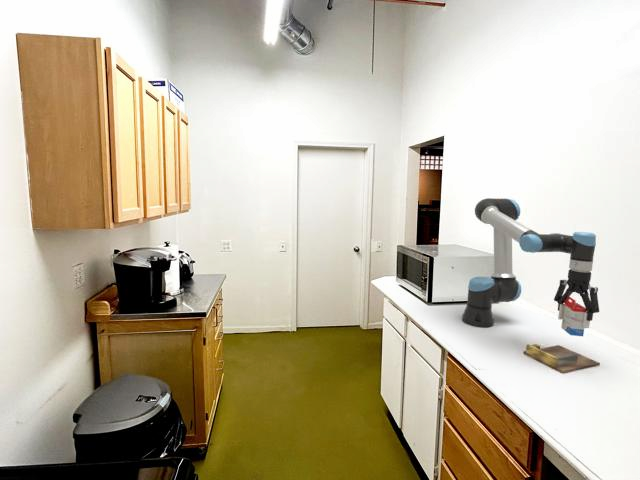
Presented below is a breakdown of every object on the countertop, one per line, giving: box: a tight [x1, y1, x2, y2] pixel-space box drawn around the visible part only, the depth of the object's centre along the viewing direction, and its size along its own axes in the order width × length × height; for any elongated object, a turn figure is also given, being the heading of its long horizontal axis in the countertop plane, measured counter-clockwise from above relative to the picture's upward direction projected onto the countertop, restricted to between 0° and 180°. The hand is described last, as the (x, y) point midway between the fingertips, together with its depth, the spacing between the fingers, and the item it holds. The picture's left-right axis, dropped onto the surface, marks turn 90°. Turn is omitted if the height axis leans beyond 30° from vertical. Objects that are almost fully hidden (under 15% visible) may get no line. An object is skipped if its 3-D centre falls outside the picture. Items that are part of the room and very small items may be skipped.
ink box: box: [561, 296, 587, 337], centre depth 146 cm, size 8×5×15 cm, turn 168°
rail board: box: [523, 343, 601, 374], centre depth 146 cm, size 17×21×4 cm
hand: (573, 323), depth 147 cm, fingers closed on ink box, 9 cm apart
